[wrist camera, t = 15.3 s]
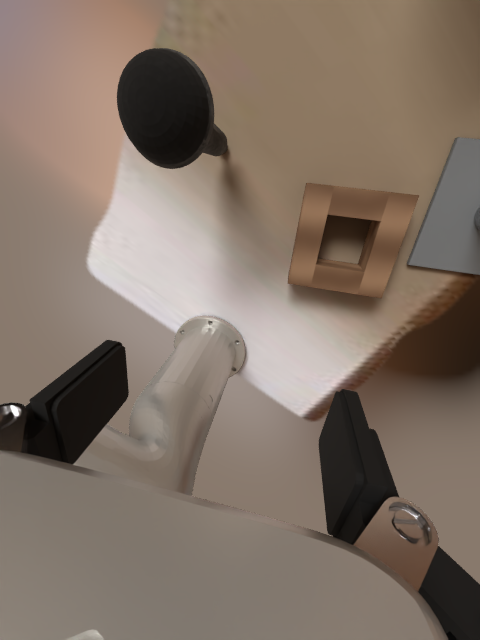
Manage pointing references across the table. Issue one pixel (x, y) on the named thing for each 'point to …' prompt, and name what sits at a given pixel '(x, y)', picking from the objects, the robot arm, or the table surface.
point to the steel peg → (477, 219)
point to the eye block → (379, 247)
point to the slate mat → (453, 215)
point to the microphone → (168, 109)
